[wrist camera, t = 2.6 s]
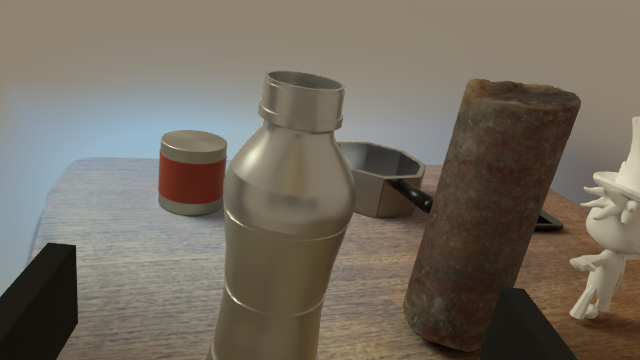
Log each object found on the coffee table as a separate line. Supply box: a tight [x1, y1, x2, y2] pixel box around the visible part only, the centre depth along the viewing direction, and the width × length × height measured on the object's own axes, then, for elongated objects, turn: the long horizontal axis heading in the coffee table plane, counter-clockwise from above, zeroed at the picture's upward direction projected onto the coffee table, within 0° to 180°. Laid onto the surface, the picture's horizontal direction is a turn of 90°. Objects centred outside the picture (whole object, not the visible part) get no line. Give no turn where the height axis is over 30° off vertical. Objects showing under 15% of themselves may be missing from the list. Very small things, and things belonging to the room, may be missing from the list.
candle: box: [403, 79, 581, 352], centre depth 37 cm, size 8×7×20 cm
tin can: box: [158, 130, 227, 216], centre depth 53 cm, size 7×7×7 cm
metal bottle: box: [206, 71, 356, 360], centre depth 26 cm, size 6×7×20 cm
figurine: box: [570, 117, 640, 319], centre depth 42 cm, size 10×8×18 cm
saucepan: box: [337, 142, 434, 218], centre depth 60 cm, size 18×12×5 cm, turn 26°
